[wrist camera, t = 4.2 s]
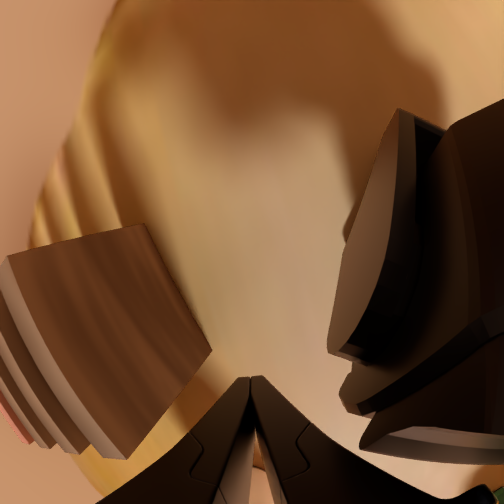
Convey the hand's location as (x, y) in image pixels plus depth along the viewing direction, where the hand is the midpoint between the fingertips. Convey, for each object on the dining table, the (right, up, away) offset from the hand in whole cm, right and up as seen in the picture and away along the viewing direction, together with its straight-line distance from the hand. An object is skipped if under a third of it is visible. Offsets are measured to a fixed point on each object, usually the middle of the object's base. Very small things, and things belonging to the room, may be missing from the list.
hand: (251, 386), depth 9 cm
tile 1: (-6, +2, +11) cm, 13 cm away
